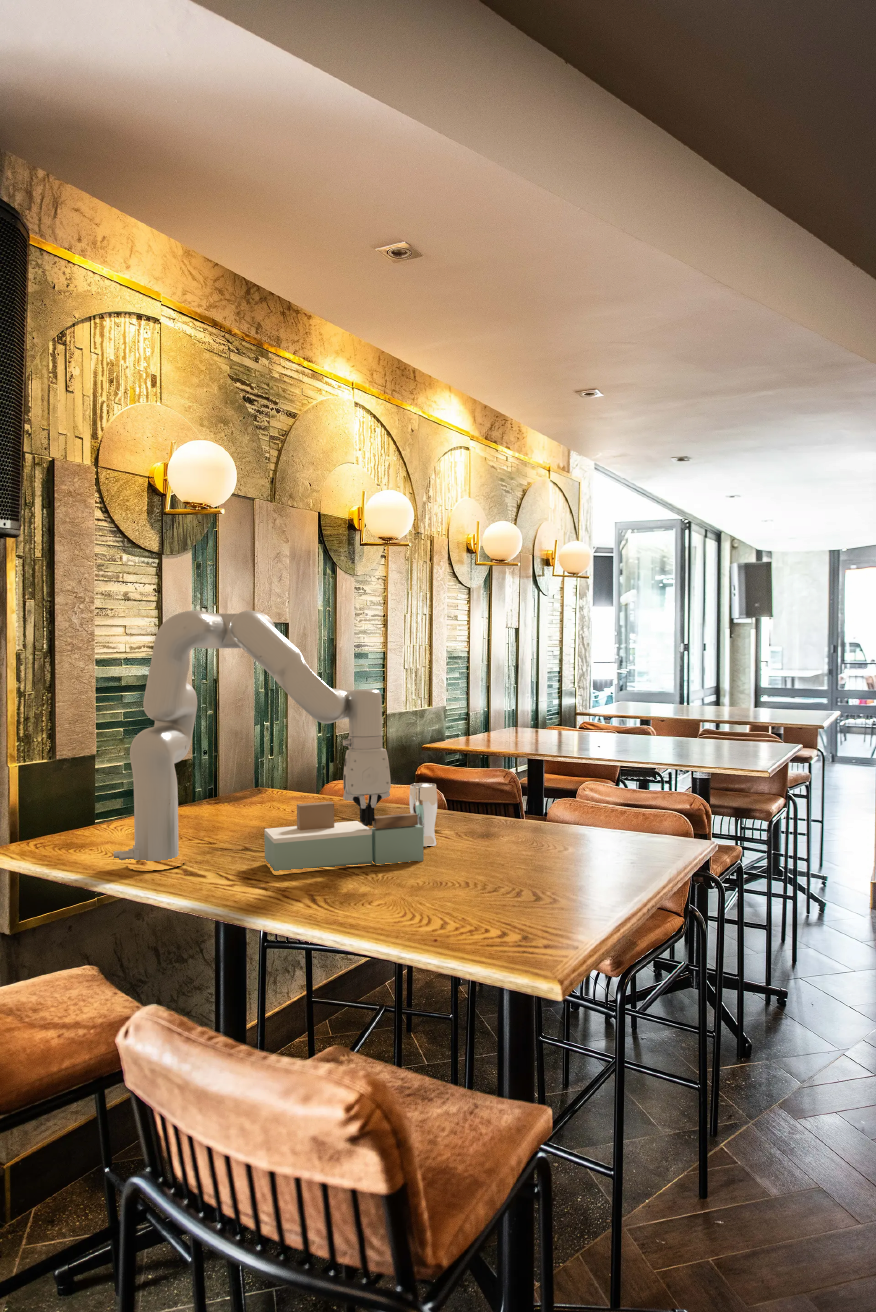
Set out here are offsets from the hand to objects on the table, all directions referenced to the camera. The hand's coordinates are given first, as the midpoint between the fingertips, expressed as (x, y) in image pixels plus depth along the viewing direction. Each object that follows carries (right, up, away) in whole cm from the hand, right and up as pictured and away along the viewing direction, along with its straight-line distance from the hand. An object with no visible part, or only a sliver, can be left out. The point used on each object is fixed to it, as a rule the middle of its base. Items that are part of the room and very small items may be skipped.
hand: (367, 824), depth 190 cm
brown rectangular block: (+6, -1, +3) cm, 7 cm away
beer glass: (+13, -9, +20) cm, 25 cm away
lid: (-11, -3, +1) cm, 12 cm away
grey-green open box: (-6, -9, +3) cm, 11 cm away
